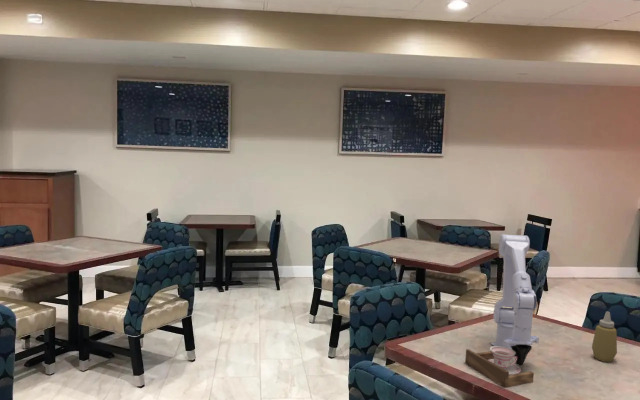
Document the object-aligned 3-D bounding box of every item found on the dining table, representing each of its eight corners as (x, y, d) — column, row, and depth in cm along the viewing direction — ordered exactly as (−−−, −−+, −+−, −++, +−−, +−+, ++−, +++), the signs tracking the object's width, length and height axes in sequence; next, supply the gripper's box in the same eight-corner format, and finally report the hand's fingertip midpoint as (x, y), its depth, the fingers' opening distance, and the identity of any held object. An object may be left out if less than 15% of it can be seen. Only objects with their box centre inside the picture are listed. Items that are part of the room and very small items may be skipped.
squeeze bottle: (612, 356, 176) (617, 310, 174) (618, 365, 168) (623, 316, 166) (588, 353, 178) (593, 307, 177) (593, 361, 171) (598, 313, 169)
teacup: (478, 368, 160) (479, 350, 160) (490, 357, 170) (491, 341, 169) (514, 379, 153) (515, 361, 152) (525, 367, 162) (526, 350, 162)
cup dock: (491, 358, 169) (492, 345, 168) (533, 381, 152) (534, 367, 151) (465, 363, 164) (466, 349, 163) (504, 387, 147) (505, 372, 147)
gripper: (515, 332, 154) (512, 372, 155) (547, 328, 160) (543, 366, 161) (499, 325, 160) (496, 363, 161) (530, 321, 166) (527, 358, 167)
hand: (519, 364), depth 161 cm, fingers closed
